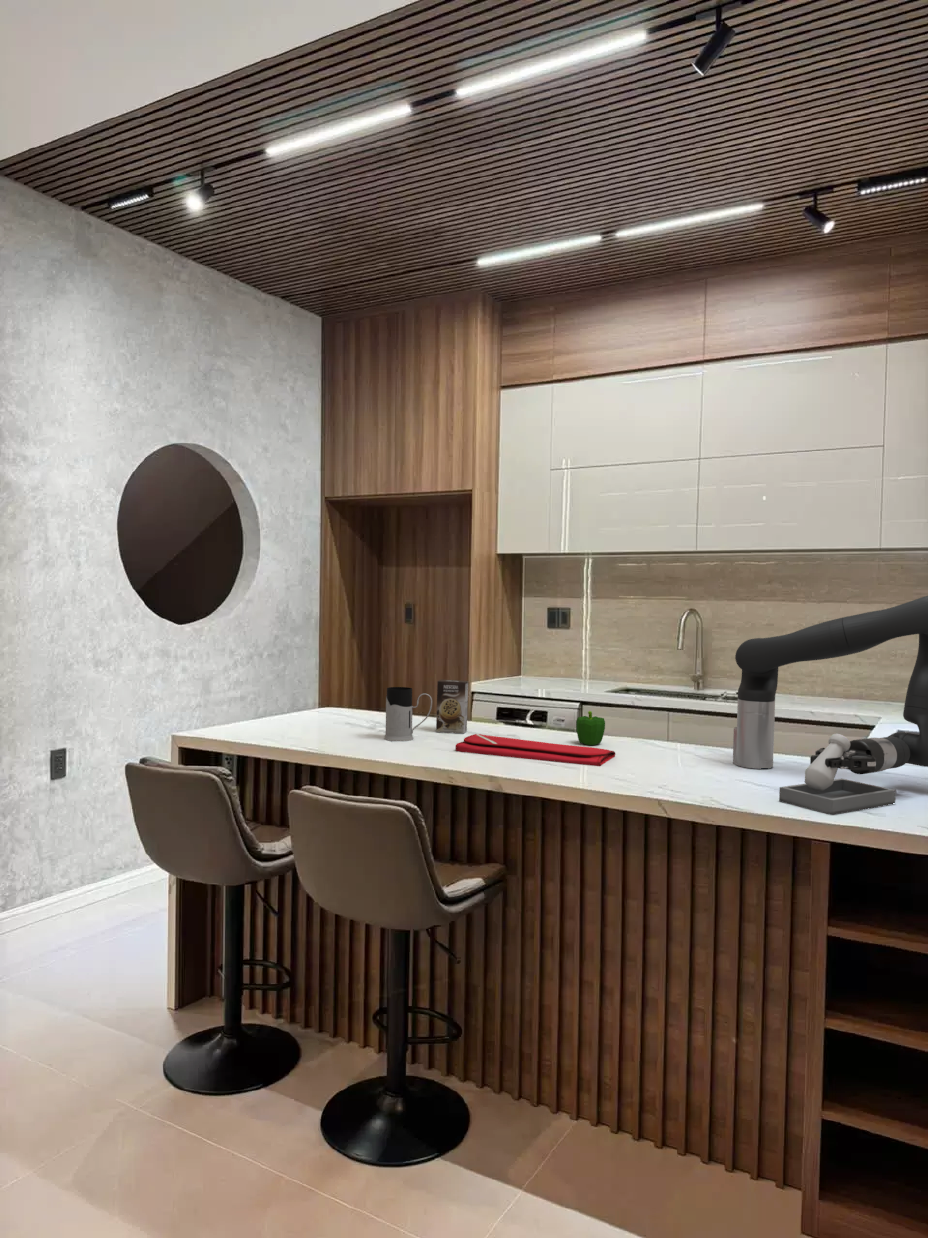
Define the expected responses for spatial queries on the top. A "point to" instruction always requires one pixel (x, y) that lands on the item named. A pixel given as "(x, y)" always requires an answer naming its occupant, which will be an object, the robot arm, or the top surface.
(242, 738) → the top surface
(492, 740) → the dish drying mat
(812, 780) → the salt shaker
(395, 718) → the glass holder
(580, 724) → the bell pepper
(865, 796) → the charcoal tray
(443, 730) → the coffee box
